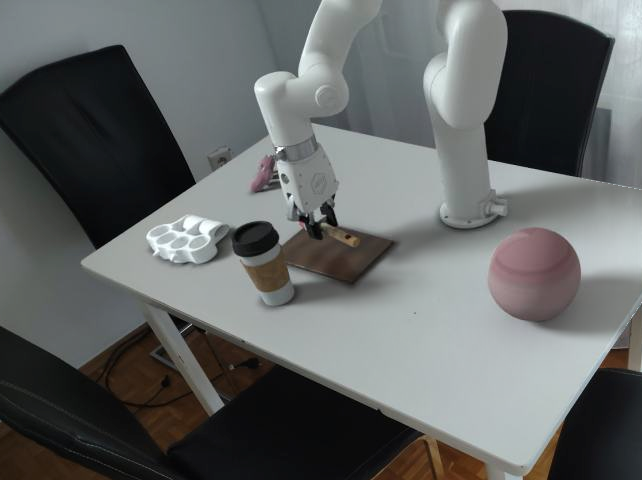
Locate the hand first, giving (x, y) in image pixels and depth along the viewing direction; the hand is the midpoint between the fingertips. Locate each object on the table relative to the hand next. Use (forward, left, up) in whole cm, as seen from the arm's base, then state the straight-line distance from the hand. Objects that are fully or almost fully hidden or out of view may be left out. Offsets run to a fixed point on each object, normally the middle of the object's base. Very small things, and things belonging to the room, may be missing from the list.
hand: (323, 230), depth 126 cm
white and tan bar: (0, 0, 0) cm, 1 cm away
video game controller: (+35, -17, -5) cm, 39 cm away
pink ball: (-46, 0, -5) cm, 46 cm away
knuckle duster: (+33, +10, -5) cm, 35 cm away
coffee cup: (+1, +15, -5) cm, 16 cm away
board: (0, 0, -5) cm, 5 cm away
